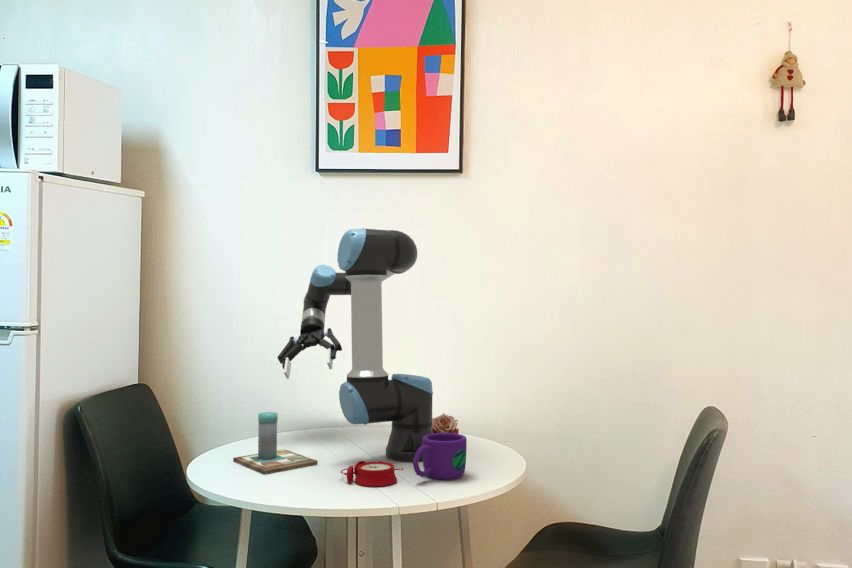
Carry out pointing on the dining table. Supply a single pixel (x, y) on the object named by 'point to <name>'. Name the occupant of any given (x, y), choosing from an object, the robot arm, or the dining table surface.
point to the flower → (444, 424)
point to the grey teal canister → (267, 435)
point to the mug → (442, 456)
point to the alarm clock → (372, 474)
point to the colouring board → (275, 462)
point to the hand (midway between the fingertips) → (307, 370)
